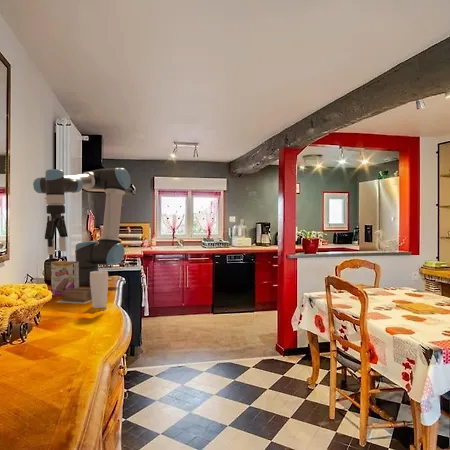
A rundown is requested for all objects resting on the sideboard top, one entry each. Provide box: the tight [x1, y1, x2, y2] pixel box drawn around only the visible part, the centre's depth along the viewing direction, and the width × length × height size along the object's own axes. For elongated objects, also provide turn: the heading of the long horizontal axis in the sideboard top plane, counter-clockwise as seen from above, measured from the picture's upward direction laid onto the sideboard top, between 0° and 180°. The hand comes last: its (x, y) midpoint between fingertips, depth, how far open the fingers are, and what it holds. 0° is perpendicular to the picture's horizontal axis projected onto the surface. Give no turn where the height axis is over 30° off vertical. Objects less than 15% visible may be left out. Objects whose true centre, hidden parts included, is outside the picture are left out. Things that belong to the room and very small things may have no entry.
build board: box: [56, 299, 92, 305], centre depth 164 cm, size 14×14×2 cm
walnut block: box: [61, 286, 92, 302], centre depth 164 cm, size 10×10×4 cm
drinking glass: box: [89, 270, 109, 312], centre depth 150 cm, size 7×7×15 cm
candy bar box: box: [50, 260, 80, 296], centre depth 175 cm, size 11×5×16 cm, turn 84°
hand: (57, 252), depth 171 cm, fingers open, 13 cm apart
